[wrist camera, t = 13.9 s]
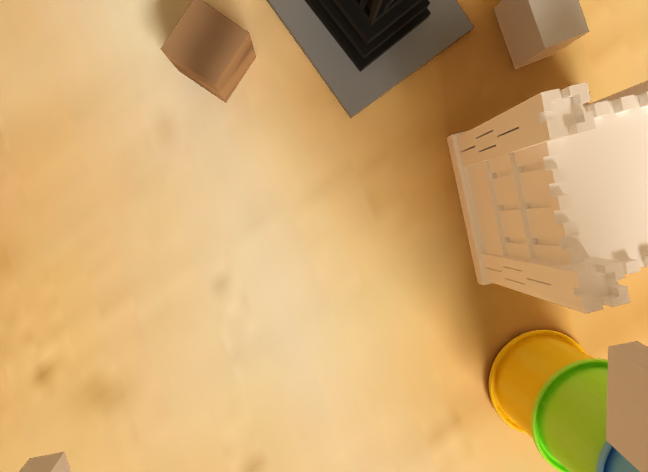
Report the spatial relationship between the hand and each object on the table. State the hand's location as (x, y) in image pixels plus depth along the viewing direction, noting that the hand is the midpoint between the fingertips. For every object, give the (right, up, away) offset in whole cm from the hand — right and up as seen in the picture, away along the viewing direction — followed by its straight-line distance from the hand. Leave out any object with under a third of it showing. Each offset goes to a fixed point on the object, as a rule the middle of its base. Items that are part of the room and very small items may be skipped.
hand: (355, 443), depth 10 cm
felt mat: (+3, +26, +29) cm, 39 cm away
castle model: (+19, +9, +30) cm, 37 cm away
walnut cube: (-10, +21, +28) cm, 36 cm away
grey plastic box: (+18, +24, +29) cm, 42 cm away
